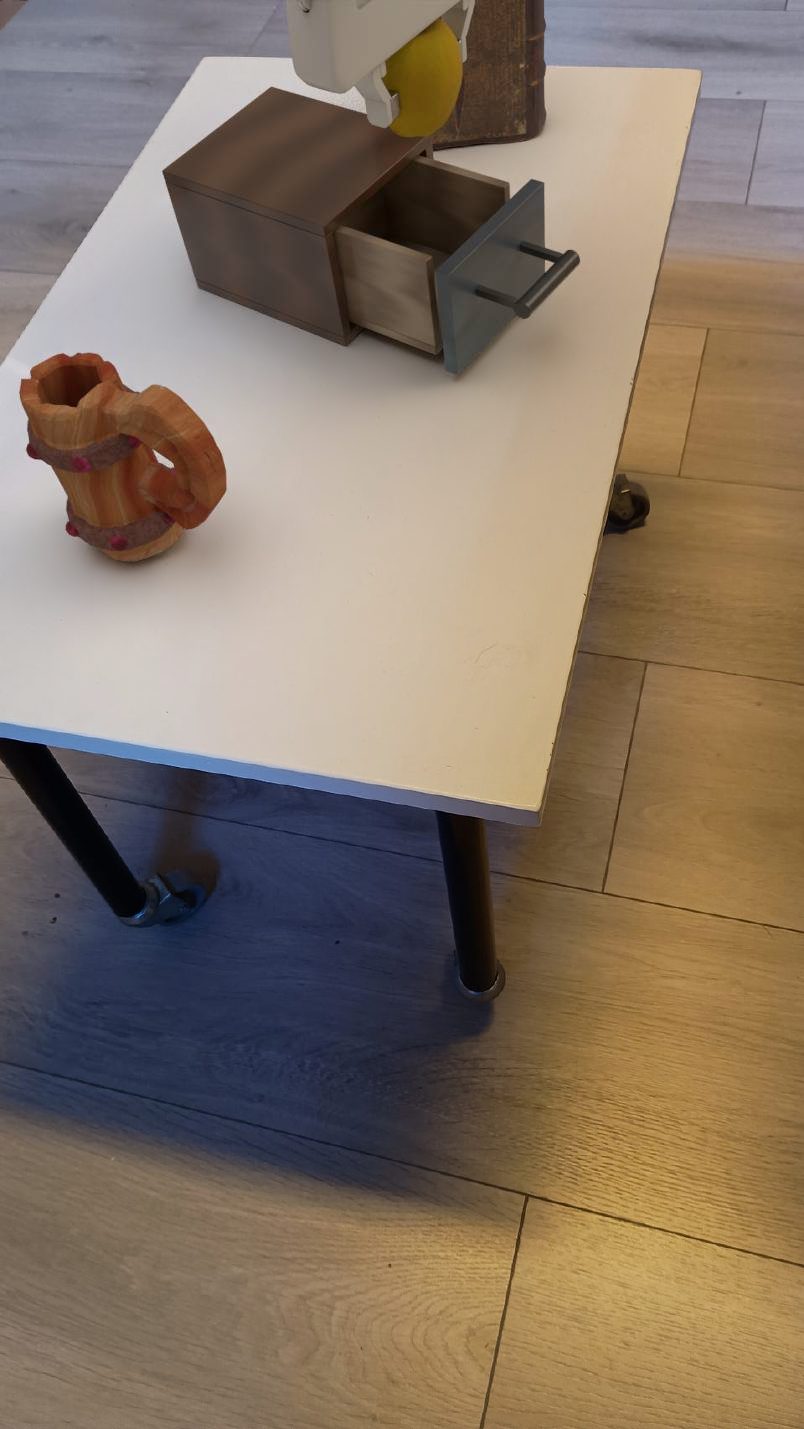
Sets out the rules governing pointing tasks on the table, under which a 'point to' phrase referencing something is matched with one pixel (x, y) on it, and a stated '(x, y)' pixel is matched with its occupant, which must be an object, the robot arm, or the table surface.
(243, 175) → the cabinet
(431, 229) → the drawer
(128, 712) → the table surface
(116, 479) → the mug
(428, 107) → the apple
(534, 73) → the book
